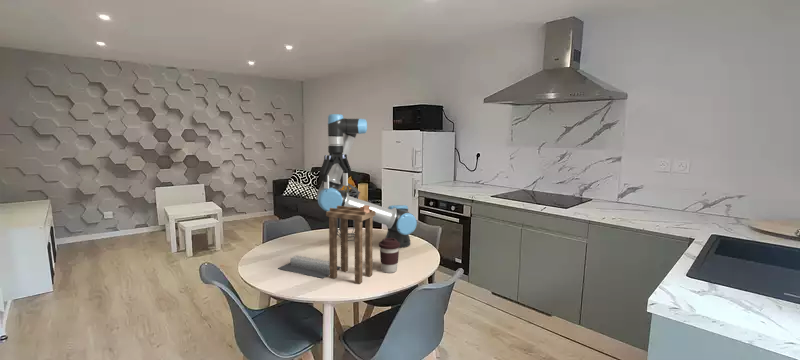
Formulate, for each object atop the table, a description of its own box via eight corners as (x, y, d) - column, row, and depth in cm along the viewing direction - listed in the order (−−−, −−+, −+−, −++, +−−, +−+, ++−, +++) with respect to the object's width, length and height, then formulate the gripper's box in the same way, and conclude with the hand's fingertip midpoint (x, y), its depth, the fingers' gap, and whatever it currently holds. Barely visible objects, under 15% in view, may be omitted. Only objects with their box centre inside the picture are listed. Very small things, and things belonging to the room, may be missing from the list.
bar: (290, 265, 181) (290, 257, 180) (296, 263, 184) (296, 255, 184) (329, 273, 172) (329, 265, 171) (334, 270, 175) (334, 262, 175)
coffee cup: (392, 276, 171) (392, 244, 169) (374, 271, 176) (374, 240, 174) (403, 269, 179) (404, 238, 177) (386, 265, 184) (386, 235, 182)
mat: (277, 269, 177) (277, 268, 177) (298, 259, 191) (298, 258, 191) (323, 278, 167) (323, 277, 167) (341, 267, 180) (341, 266, 180)
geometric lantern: (361, 242, 222) (360, 183, 217) (335, 244, 219) (333, 184, 214) (359, 234, 238) (357, 179, 232) (333, 236, 234) (331, 180, 229)
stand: (326, 277, 168) (326, 205, 163) (341, 269, 179) (341, 200, 174) (361, 285, 160) (361, 209, 156) (375, 275, 171) (375, 204, 167)
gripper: (347, 144, 202) (347, 183, 204) (311, 145, 181) (312, 188, 184) (357, 144, 198) (357, 184, 200) (322, 145, 177) (323, 190, 180)
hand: (336, 186), depth 192 cm, fingers open, 13 cm apart
